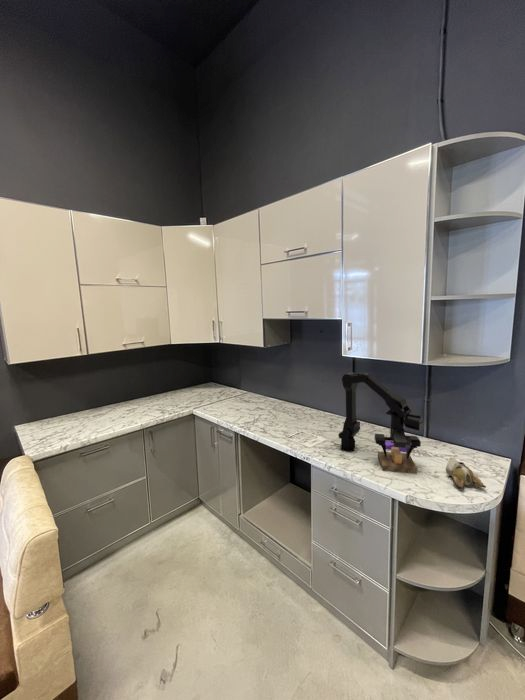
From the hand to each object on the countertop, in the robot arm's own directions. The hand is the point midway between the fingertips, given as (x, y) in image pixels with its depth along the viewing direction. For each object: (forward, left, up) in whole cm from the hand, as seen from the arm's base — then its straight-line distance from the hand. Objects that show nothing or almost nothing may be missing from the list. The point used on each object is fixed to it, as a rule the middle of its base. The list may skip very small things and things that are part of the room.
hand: (396, 457), depth 141 cm
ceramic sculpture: (+23, -11, -4) cm, 26 cm away
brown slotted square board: (0, 0, -3) cm, 3 cm away
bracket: (+4, +18, -4) cm, 19 cm away
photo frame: (-43, +22, -4) cm, 48 cm away
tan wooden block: (0, 0, -3) cm, 3 cm away
